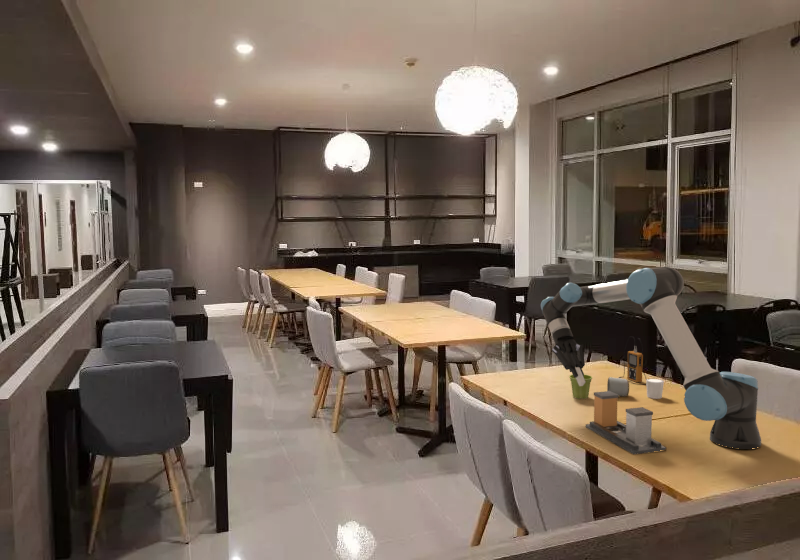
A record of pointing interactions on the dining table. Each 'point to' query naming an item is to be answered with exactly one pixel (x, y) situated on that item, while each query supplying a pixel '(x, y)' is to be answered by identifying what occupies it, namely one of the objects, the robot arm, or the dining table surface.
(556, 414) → the dining table surface
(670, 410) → the dining table surface
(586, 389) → the plant pot
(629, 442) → the gray canister tray
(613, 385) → the ceramic mug
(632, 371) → the multimeter
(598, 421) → the orange tall block
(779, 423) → the dining table surface
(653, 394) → the tan white cylinder
